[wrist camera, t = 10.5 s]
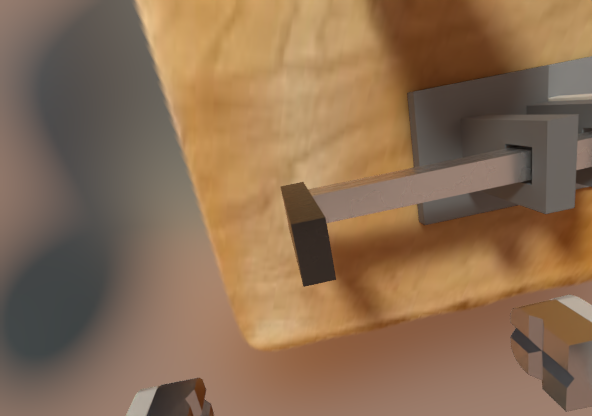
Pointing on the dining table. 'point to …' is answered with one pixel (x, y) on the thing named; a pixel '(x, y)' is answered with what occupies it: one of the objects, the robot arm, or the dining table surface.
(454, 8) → the dining table surface
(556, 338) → the robot arm
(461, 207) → the bearing stand
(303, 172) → the dining table surface
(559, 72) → the mat
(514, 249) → the dining table surface
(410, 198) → the shaft
